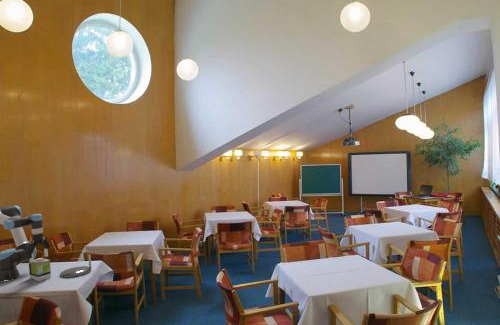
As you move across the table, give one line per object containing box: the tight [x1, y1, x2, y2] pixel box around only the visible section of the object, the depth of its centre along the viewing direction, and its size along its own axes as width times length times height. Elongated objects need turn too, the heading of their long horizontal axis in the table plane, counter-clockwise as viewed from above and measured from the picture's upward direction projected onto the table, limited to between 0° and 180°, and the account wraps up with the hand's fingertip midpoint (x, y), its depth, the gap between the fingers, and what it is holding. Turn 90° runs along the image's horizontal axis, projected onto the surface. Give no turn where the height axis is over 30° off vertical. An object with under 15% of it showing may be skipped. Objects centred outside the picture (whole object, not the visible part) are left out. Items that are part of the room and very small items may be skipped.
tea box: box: [28, 257, 52, 282], centre depth 266 cm, size 15×10×15 cm, turn 58°
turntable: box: [59, 254, 92, 279], centre depth 274 cm, size 23×23×13 cm
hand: (39, 259), depth 265 cm, fingers open, 13 cm apart
